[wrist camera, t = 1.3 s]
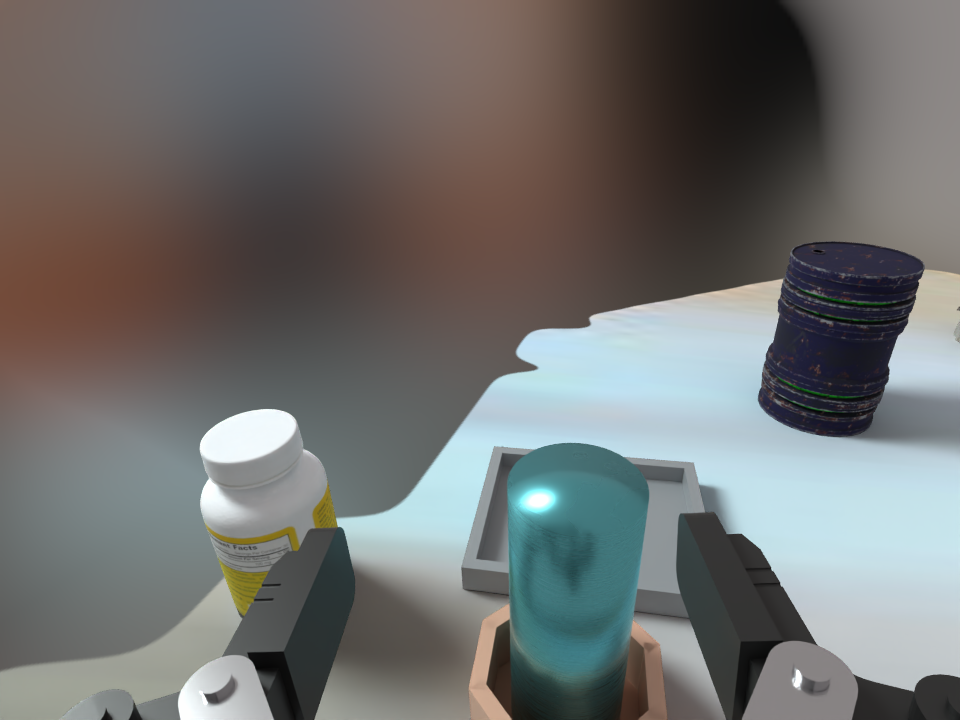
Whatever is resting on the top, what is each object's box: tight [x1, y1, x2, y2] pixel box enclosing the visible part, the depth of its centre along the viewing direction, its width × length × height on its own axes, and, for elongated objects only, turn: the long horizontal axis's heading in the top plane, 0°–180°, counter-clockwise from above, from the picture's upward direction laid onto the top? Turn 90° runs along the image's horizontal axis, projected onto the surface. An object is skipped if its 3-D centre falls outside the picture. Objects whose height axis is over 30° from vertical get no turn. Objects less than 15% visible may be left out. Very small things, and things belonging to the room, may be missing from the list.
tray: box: [461, 446, 705, 618], centre depth 41 cm, size 16×13×2 cm
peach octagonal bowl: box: [469, 604, 668, 720], centre depth 29 cm, size 9×9×4 cm
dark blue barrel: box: [758, 242, 925, 437], centre depth 51 cm, size 10×10×15 cm
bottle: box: [507, 443, 649, 720], centre depth 26 cm, size 6×6×15 cm
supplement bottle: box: [200, 409, 338, 619], centre depth 34 cm, size 7×7×13 cm
